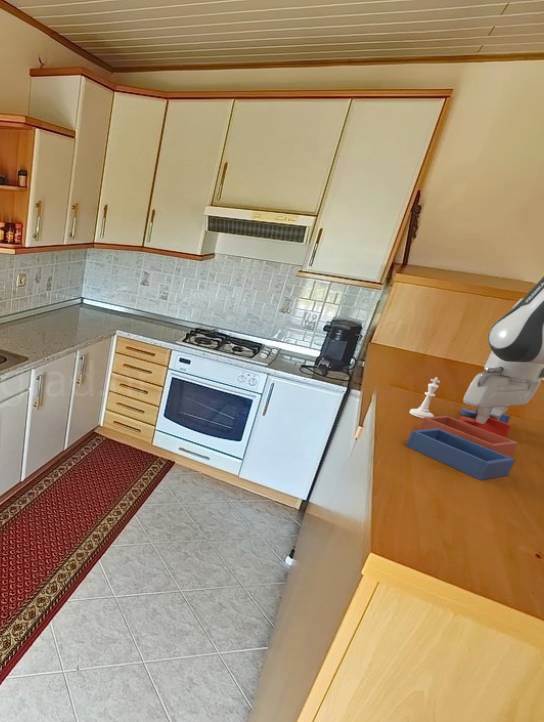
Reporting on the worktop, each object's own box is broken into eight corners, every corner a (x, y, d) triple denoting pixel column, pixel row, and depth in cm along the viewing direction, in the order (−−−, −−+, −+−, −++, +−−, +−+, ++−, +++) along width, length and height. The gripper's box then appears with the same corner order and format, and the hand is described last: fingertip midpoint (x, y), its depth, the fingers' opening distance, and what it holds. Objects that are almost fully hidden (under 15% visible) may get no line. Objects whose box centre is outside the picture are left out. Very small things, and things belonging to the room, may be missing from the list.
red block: (508, 437, 113) (515, 424, 112) (500, 438, 111) (506, 425, 110) (463, 420, 121) (468, 408, 120) (455, 421, 120) (460, 409, 118)
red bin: (511, 457, 101) (518, 442, 100) (487, 461, 98) (494, 445, 97) (440, 429, 113) (446, 415, 112) (417, 431, 110) (423, 417, 108)
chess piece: (407, 409, 124) (422, 372, 120) (430, 414, 122) (446, 377, 119) (411, 415, 120) (427, 377, 116) (435, 421, 118) (452, 382, 114)
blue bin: (507, 475, 92) (515, 459, 91) (480, 480, 89) (489, 463, 88) (431, 442, 104) (437, 428, 103) (405, 445, 101) (411, 430, 100)
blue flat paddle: (507, 427, 119) (513, 415, 118) (499, 428, 118) (505, 416, 117) (464, 412, 127) (469, 400, 126) (456, 412, 126) (461, 401, 125)
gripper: (502, 372, 104) (475, 430, 109) (553, 370, 111) (526, 425, 116) (469, 363, 109) (444, 419, 114) (519, 362, 117) (494, 414, 122)
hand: (486, 422), depth 115 cm, fingers open, 3 cm apart
